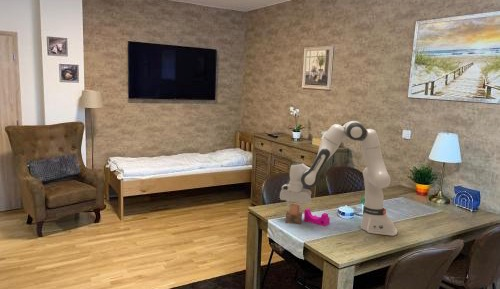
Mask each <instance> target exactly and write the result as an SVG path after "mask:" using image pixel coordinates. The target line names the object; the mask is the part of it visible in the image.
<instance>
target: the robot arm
mask: <svg viewBox="0 0 500 289" xmlns="http://www.w3.org/2000/svg"><path fill="white" fill-rule="evenodd" d="M347 138H348V139H350V140H352V141H359V142H360V146H361V152H362V153H361V154H362V157H363V158H362V159H363V161H364V164H365V166H366V167H365V168H363V170H362V176H363V185H364V205H363V207H362V219H361V223H360V225H359V228H360V229H361V230H363V231H366V233H369V234H374V235H375V234H376V235H382V236H383V235H385V236H391V237H394V236H396V235H397V234H398V229H397V228H396V227H395V222H394V220H393V219H391V218H390V217H389V216H388V215H387V210H386V208H384V197H385V196H384V193H383V189H386V188H388V187H389V185H390V184H391V182H392V180H391V176H390V174H389V173H388V170H387V166H386V164H385V161H384V158H383V154H382V148H381V142H380V139H379V136H378V133H377V131H376V130H375V129H373V128H366V127H365V126H364V125H363V124H362V123H360V122H359V121H357V120H354V119H353V120H352V119H351V120H347V121H346V122H344V123H342V124H338V123H335V124H332V125H331V126H330V127H329V128H328V130H327V131H326V132H325V134H324V135H323V137H322V139H321V141H320V143H319V146H318V150H317V151H318V152H317V155H316V158H315V159H314V161H313V163H312V164H311V166H310V167H309V166H307V165H306V164H305V163H303V162H294V163H292V164H291V166H290V168H289V181H288V183H285V184H283V185H282V186H281V190H280V192H279V199H280V200H281V201H286V204H287V208H289V209H290V205H291V204H292V203H290V202H294V203H300V206H299V210H302V206H303V205H304V204H306V205H310V203H311V202H312V190H311V189H312V188H315V187H316V186H317V185H318V181H319V175H320V173H321V171H322V169H323V168H324V166H325V164H326V163H327V162H328V160H329V159H330V158H331V157H332V156H333V155H334V154H335V152H336V151H337V150H338V148H339V147H340V145H341V143H342V142H343V140H344V139H347ZM304 187H305V188H304ZM306 188H307V189H306Z"/></svg>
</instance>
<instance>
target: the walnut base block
mask: <svg viewBox="0 0 500 289" xmlns="http://www.w3.org/2000/svg"><path fill="white" fill-rule="evenodd" d="M289 212H290V210H287V211H286V215H285V224H292V225H294V224H295V225H302V220H303V212H302V211H301V212H300V211H299V214H298V215H297V216H295V215H289Z"/></svg>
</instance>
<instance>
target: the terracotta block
mask: <svg viewBox="0 0 500 289" xmlns="http://www.w3.org/2000/svg"><path fill="white" fill-rule="evenodd" d="M290 204H291V205H290V208H289V211H290V212H289V215H295V216H297V215H298V214H299V212H300V209H299V206H301V204H298V203H297V204H296V203H290Z"/></svg>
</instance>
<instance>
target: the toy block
mask: <svg viewBox="0 0 500 289" xmlns="http://www.w3.org/2000/svg"><path fill="white" fill-rule="evenodd" d="M303 221H304V222H308V223H312V224H314V225H319V226H323V227H326V226H328V225H330V221H331V220H330V217H329V213H327V212H324V213H322V214H321V216H317V215H313V214H312V212H311V209H310V208H306V209H304V214H303Z"/></svg>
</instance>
